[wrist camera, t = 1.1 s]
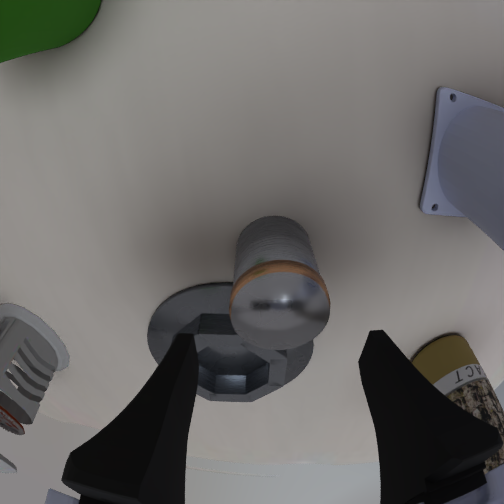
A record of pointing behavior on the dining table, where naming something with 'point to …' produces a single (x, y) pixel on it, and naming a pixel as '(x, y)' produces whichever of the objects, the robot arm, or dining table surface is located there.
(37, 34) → the cup
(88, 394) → the dining table surface
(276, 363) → the flange ring
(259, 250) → the silver metal canister
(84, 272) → the dining table surface
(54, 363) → the french press
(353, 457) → the dining table surface
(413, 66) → the dining table surface
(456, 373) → the paper tube
